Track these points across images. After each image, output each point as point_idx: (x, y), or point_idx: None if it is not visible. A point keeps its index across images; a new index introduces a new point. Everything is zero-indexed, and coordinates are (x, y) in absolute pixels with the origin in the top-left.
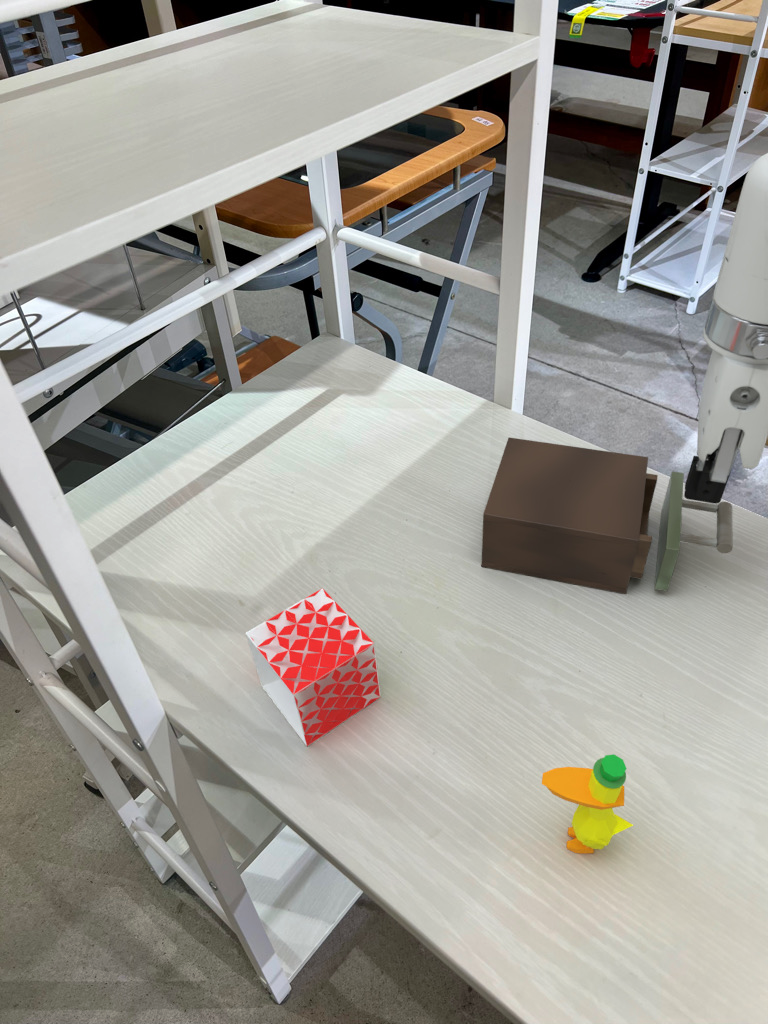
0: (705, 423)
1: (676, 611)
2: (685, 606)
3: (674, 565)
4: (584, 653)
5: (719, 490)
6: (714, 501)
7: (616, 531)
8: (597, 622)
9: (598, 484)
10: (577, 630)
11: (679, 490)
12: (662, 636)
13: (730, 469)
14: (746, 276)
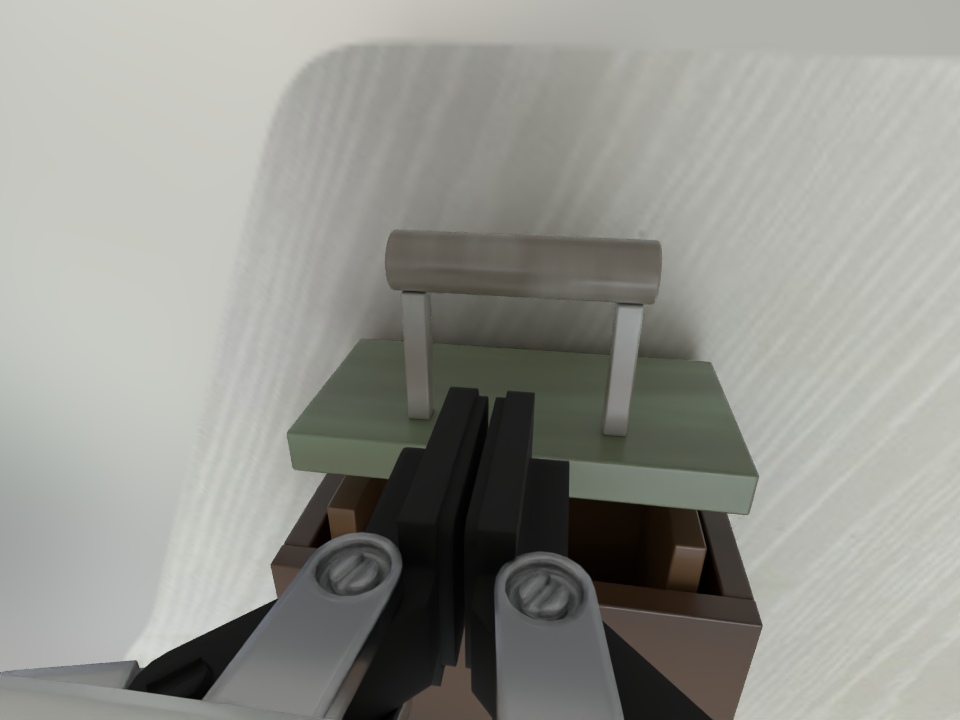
0: None
1: (761, 319)
2: (737, 294)
3: (738, 427)
4: (928, 533)
5: (528, 453)
6: (533, 413)
7: (716, 677)
8: (815, 505)
9: (475, 699)
10: (845, 545)
11: (398, 454)
12: (867, 358)
13: (600, 633)
14: None
